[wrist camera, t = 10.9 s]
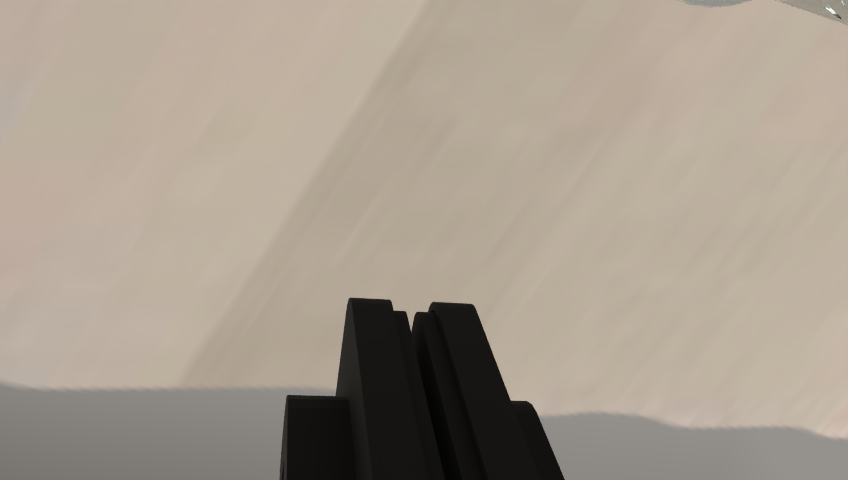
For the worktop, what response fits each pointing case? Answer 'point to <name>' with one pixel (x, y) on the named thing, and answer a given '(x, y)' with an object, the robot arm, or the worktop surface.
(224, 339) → the worktop surface
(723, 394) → the worktop surface
